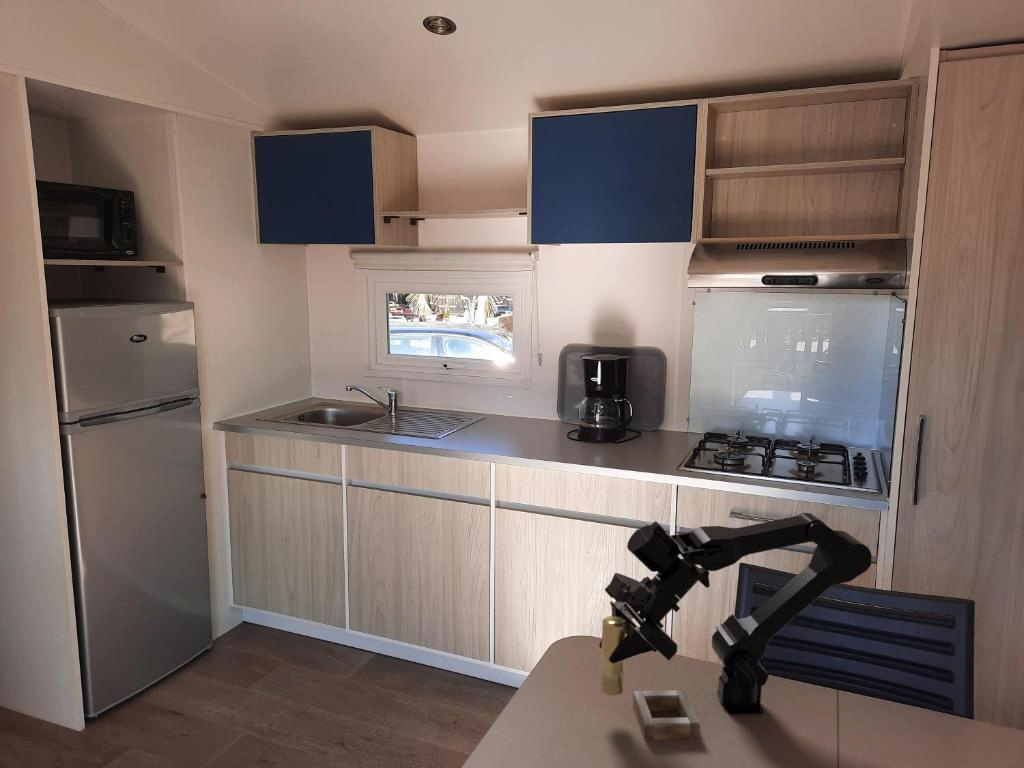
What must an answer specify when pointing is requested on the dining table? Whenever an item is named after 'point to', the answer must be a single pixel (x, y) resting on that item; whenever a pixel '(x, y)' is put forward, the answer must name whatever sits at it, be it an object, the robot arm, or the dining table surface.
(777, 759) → the dining table surface
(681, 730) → the shallow grey tray
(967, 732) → the dining table surface
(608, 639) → the gold cylinder
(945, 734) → the dining table surface
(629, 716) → the dining table surface
